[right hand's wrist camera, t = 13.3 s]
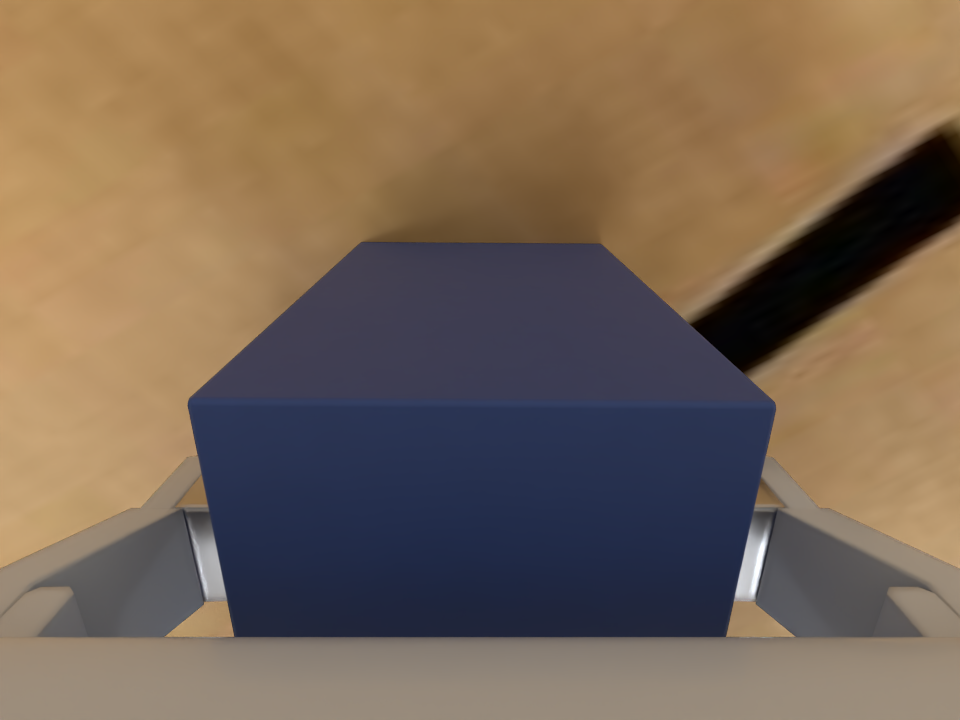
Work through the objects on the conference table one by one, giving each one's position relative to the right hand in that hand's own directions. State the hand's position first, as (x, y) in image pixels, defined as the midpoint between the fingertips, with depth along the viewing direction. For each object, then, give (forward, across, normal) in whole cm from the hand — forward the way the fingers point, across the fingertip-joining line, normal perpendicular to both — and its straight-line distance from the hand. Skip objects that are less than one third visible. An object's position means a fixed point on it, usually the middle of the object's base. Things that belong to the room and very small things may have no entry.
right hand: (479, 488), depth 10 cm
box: (+6, 0, -10) cm, 12 cm away
